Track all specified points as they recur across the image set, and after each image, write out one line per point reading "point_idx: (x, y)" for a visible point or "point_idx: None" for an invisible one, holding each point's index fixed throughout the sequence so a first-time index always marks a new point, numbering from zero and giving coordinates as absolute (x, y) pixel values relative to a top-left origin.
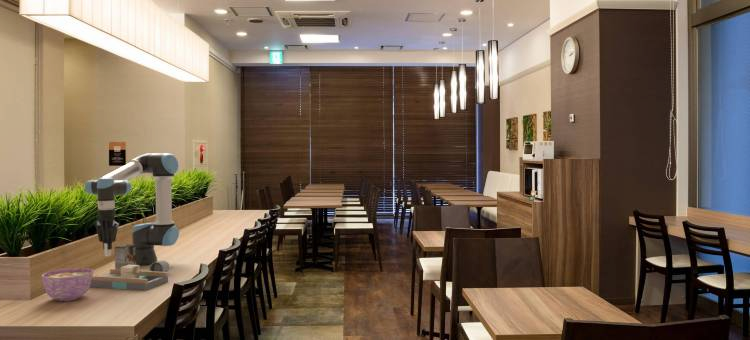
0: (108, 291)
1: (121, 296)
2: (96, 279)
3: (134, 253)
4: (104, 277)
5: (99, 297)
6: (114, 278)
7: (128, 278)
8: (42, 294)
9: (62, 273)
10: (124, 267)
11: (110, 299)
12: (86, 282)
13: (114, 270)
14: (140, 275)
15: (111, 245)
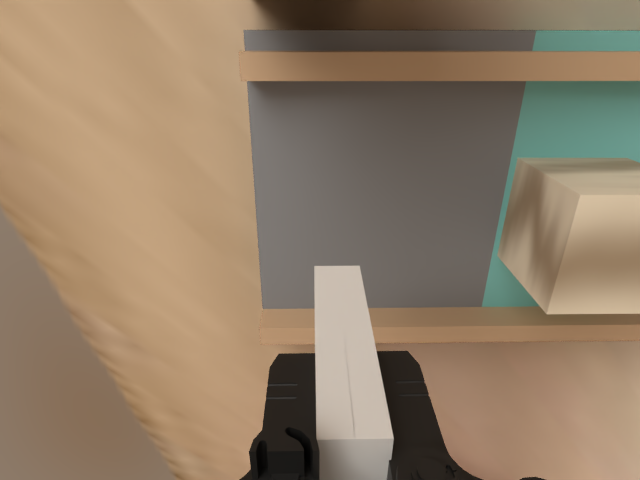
0: (482, 362)
1: (609, 417)
2: None
3: None
4: (410, 339)
5: (502, 449)
6: (499, 336)
7: (626, 340)
8: (175, 466)
9: None
10: (590, 313)
11: (577, 460)
12: None
13: (299, 80)
14: (607, 91)
15: (431, 415)
